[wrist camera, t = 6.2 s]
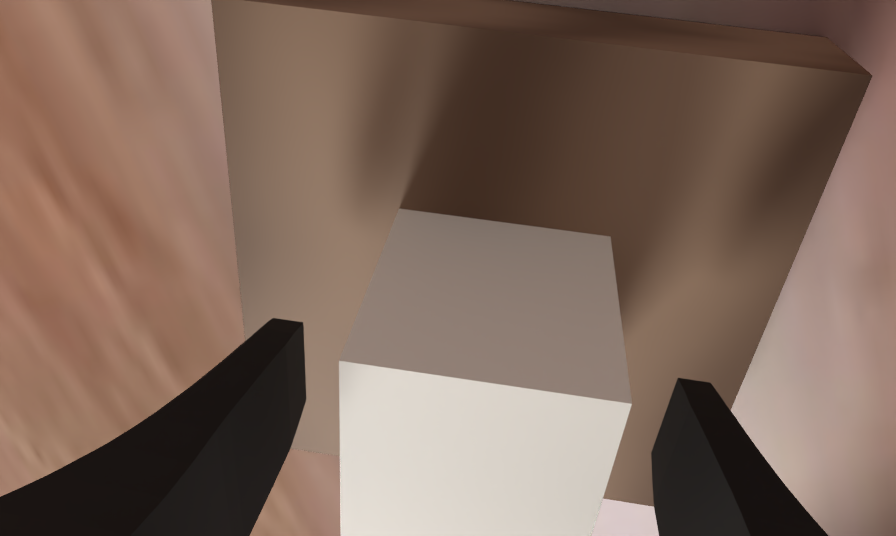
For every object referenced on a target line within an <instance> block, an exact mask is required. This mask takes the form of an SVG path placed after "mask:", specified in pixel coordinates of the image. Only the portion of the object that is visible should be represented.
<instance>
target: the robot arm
mask: <svg viewBox="0 0 896 536" xmlns="http://www.w3.org/2000/svg"><path fill="white" fill-rule="evenodd" d="M305 402H306V376H305V351H304V325H303V322H298V321H291V320H284V319H277V318H272V319H271V320H269V321H268V322H267V323H266V324H264V325H263V326H262V327H261V328H260V329H259V330H257V331H256V332H255V333H254V334H253V335H252V336H251V337H249V338H248V339H247V340H246V341H245V342H244V343H243V344H241V345H240V346H239V347H238V348H237V349H236V350H234V351H233V352H232V353H231V354H230V355H229V356H227V357H226V358H225V359H224V360H223V361H222V362H220V363H219V364H218V365H217V366H215V367H214V368H213V369H212V370H210V371H209V372H208V373H207V374H206V375H204V376H203V377H202V378H201V379H199V380H198V381H197V382H196V383H194V384H193V385H192V386H191V387H189V388H188V389H187V390H185V391H184V392H183V393H181V394H180V395H178V396H177V397H176V398H174V399H173V400H172V401H170V402H169V403H168V404H166V405H165V406H164V407H162V408H161V409H159V410H158V411H157V412H155V413H154V414H152V415H151V416H149V417H148V418H146V419H145V420H144V421H142V422H141V423H139V424H138V425H136V426H134V427H133V428H131V429H130V430H128V431H127V432H125V433H123V434H122V435H120V436H119V437H117V438H115V439H114V440H112V441H110V442H109V443H107V444H105V445H104V446H102V447H100V448H98V449H96V450H94V451H93V452H91V453H89V454H87V455H85V456H83V457H81V458H79V459H78V460H76V461H74V462H72V463H70V464H68V465H66V466H64V467H63V468H61V469H59V470H57V471H55V472H53V473H51V474H49V475H47V476H45V477H43V478H41V479H39V480H36V481H34V482H32V483H30V484H28V485H26V486H24V487H22V488H19V489H17V490H15V491H13V492H10V493H8V494H6V495H3V496H1V497H0V536H249V535H250V533H251V531H252V529H253V527H254V525H255V523H256V521H257V519H258V516H259V514H260V512H261V510H262V508H263V506H264V504H265V502H266V499H267V497H268V495H269V493H270V491H271V489H272V487H273V485H274V483H275V480H276V478H277V476H278V474H279V472H280V470H281V467H282V465H283V463H284V461H285V459H286V457H287V454H288V452H289V450H290V448H291V446H292V443H293V440H294V437H295V434H296V431H297V428H298V425H299V422H300V418H301V415H302V412H303V409H304V406H305ZM651 461H652V484H653V500H654V508H655V514H656V520H657V525H658V531H659V536H828V535H827V534H826V532H825V531H824V530H823V529H822V528H821V527H820V526H819V525H818V524H817V522H816V521H815V520H814V519H813V518H812V517H811V516H810V514H809V513H808V512H807V511H806V510H805V508H804V507H803V506H802V505H801V504H800V502H799V501H798V500H797V499H796V498H795V497H794V495H793V494H792V493H791V492H790V491H789V489H788V488H787V487H786V486H785V484H784V483H783V482H782V481H781V479H780V478H779V477H778V475H777V474H776V473H775V471H774V470H773V469H772V467H771V466H770V465H769V463H768V462H767V461H766V460H765V458H764V457H763V456H762V454H761V453H760V452H759V450H758V449H757V447H756V446H755V445H754V443H753V442H752V441H751V439H750V438H749V436H748V435H747V433H746V432H745V431H744V429H743V428H742V426H741V425H740V424H739V422H738V421H737V419H736V418H735V416H734V415H733V414H732V412H731V411H730V409H729V408H728V406H727V405H726V403H725V402H724V401H723V399H722V398H721V396H720V395H719V393H718V392H717V391H716V389H715V388H714V386H713V385H712V384H711V383H710V382H704V381H697V380H690V379H683V378H677V381H676V384H675V387H674V390H673V393H672V395H671V398H670V401H669V404H668V407H667V409H666V412H665V415H664V418H663V421H662V424H661V426H660V429H659V432H658V435H657V438H656V441H655V443H654V446H653V449H652V452H651Z"/></svg>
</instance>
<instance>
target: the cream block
mask: <svg viewBox="0 0 896 536" xmlns="http://www.w3.org/2000/svg"><path fill="white" fill-rule="evenodd" d="M631 405H632V400H631V392H630V385H629V377H628V369H627V361H626V353H625V346H624V338H623V330H622V322H621V314H620V307H619V299H618V291H617V283H616V275H615V267H614V260H613V252H612V244H611V237H610V236H603V235H595V234H588V233H580V232H573V231H565V230H557V229H550V228H542V227H535V226H527V225H520V224H512V223H505V222H497V221H490V220H482V219H475V218H467V217H459V216H452V215H444V214H437V213H429V212H422V211H414V210H407V209H399V210H398V213H397V215H396V218H395V220H394V223H393V225H392V228H391V230H390V233H389V236H388V238H387V241H386V243H385V246H384V248H383V251H382V253H381V256H380V258H379V261H378V263H377V266H376V268H375V271H374V273H373V276H372V278H371V281H370V284H369V286H368V289H367V291H366V294H365V296H364V299H363V301H362V304H361V306H360V309H359V311H358V314H357V316H356V319H355V321H354V324H353V326H352V329H351V332H350V334H349V337H348V339H347V342H346V344H345V347H344V349H343V352H342V354H341V357H340V359H339V417H340V520H341V536H591V535H592V532H593V529H594V525H595V522H596V519H597V516H598V512H599V509H600V506H601V503H602V499H603V496H604V493H605V490H606V487H607V483H608V480H609V477H610V474H611V470H612V467H613V464H614V461H615V457H616V454H617V451H618V448H619V444H620V441H621V438H622V435H623V431H624V428H625V425H626V422H627V418H628V415H629V412H630V409H631Z"/></svg>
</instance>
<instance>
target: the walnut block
mask: <svg viewBox="0 0 896 536" xmlns="http://www.w3.org/2000/svg"><path fill="white" fill-rule="evenodd" d="M211 2H212V12H213V22H214V32H215V42H216V52H217V62H218V72H219V82H220V93H221V103H222V113H223V123H224V133H225V143H226V153H227V163H228V173H229V183H230V193H231V203H232V213H233V223H234V233H235V243H236V253H237V263H238V273H239V283H240V293H241V303H242V313H243V323H244V333H245V341H246V340H247V339H248V338H249V337H251V336H252V335H253V334H254V333H255V332H256V331H257V330H259V329H260V328H261V327H262V326H263V325H264V324H266V323H267V322H268V321H269V320H271V319H272V318H277V319H284V320H291V321H298V322H303V325H304V351H305V376H306V402H305V406H304V409H303V412H302V415H301V418H300V422H299V425H298V428H297V431H296V434H295V437H294V440H293V443H292V446H291V448H290V449H297V450H303V451H309V452H315V453H322V454H328V455H334V456H340V417H339V359H340V357H341V354H342V352H343V349H344V347H345V344H346V342H347V339H348V337H349V334H350V332H351V329H352V326H353V324H354V321H355V319H356V316H357V314H358V311H359V309H360V306H361V304H362V301H363V299H364V296H365V294H366V291H367V289H368V286H369V284H370V281H371V278H372V276H373V273H374V271H375V268H376V266H377V263H378V261H379V258H380V256H381V253H382V251H383V248H384V246H385V243H386V241H387V238H388V236H389V233H390V230H391V228H392V225H393V223H394V220H395V218H396V215H397V213H398V210H399V209H407V210H414V211H422V212H429V213H437V214H444V215H452V216H459V217H467V218H475V219H482V220H490V221H497V222H505V223H512V224H520V225H527V226H535V227H542V228H550V229H557V230H565V231H573V232H580V233H588V234H595V235H603V236H610V237H611V244H612V252H613V260H614V267H615V275H616V283H617V291H618V299H619V307H620V314H621V322H622V330H623V338H624V346H625V353H626V361H627V369H628V377H629V385H630V392H631V400H632V405H631V409H630V412H629V415H628V418H627V422H626V425H625V428H624V431H623V435H622V438H621V441H620V444H619V448H618V451H617V454H616V457H615V461H614V464H613V467H612V470H611V474H610V477H609V480H608V483H607V487H606V490H605V493H604V496H603V498H604V499H610V500H617V501H623V502H629V503H635V504H642V505H648V506H654V500H653V484H652V461H651V452H652V449H653V446H654V443H655V441H656V438H657V435H658V432H659V429H660V426H661V424H662V421H663V418H664V415H665V412H666V409H667V407H668V404H669V401H670V398H671V395H672V393H673V390H674V387H675V384H676V381H677V378H683V379H690V380H697V381H704V382H710V383H711V384H712V385H713V386H714V388H715V389H716V391H717V392H718V393H719V395H720V396H721V398H722V399H723V401H724V402H725V403H726V405H727V406H728V408H729V409H730V410H731V408H732V405H733V403H734V401H735V398H736V396H737V394H738V391H739V389H740V386H741V384H742V382H743V379H744V377H745V375H746V372H747V370H748V368H749V365H750V363H751V361H752V358H753V356H754V353H755V351H756V349H757V346H758V344H759V342H760V339H761V337H762V335H763V332H764V330H765V328H766V325H767V323H768V320H769V318H770V316H771V313H772V311H773V309H774V306H775V304H776V302H777V299H778V297H779V295H780V292H781V290H782V288H783V285H784V283H785V280H786V278H787V276H788V273H789V271H790V269H791V266H792V264H793V262H794V259H795V257H796V255H797V252H798V250H799V247H800V245H801V243H802V240H803V238H804V236H805V233H806V231H807V229H808V226H809V224H810V222H811V219H812V217H813V214H814V212H815V210H816V207H817V205H818V203H819V200H820V198H821V196H822V193H823V191H824V189H825V186H826V184H827V181H828V179H829V177H830V174H831V172H832V170H833V167H834V165H835V163H836V160H837V158H838V156H839V153H840V151H841V148H842V146H843V144H844V141H845V139H846V137H847V134H848V132H849V130H850V127H851V125H852V123H853V120H854V118H855V116H856V113H857V111H858V108H859V106H860V104H861V101H862V99H863V97H864V94H865V92H866V90H867V87H868V85H869V83H870V80H871V78H872V75H871V74H870V73H869V72H868V71H866V70H865V69H864V68H863V67H862V66H860V65H859V64H858V63H857V62H856V61H854V60H853V59H852V58H851V57H850V56H848V55H847V54H846V53H845V52H844V51H842V50H841V49H840V48H839V47H838V46H836V45H835V44H834V43H833V42H832V41H830V40H829V39H828V38H827V37H819V36H810V35H802V34H793V33H784V32H776V31H767V30H759V29H750V28H742V27H733V26H724V25H716V24H707V23H699V22H690V21H681V20H673V19H664V18H656V17H647V16H639V15H630V14H621V13H613V12H604V11H596V10H587V9H579V8H570V7H561V6H553V5H544V4H536V3H527V2H519V1H510V0H211Z"/></svg>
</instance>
